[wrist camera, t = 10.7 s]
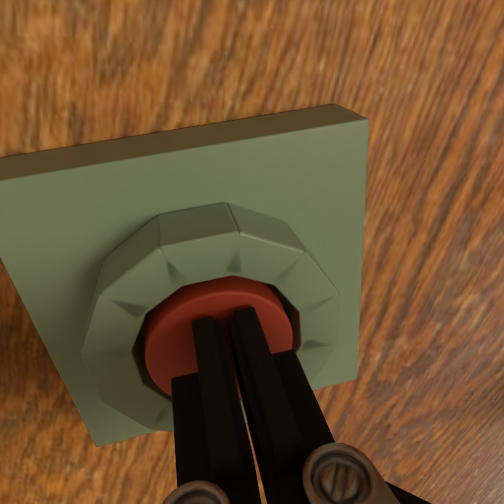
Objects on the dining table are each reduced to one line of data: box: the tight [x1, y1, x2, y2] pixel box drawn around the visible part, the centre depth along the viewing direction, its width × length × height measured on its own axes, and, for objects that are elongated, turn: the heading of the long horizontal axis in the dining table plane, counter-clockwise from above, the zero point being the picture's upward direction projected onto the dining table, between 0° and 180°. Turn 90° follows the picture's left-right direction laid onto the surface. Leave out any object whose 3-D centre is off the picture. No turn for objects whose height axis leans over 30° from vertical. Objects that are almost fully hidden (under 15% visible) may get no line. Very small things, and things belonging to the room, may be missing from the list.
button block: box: [0, 104, 369, 447], centre depth 13 cm, size 10×10×4 cm
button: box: [145, 275, 293, 398], centre depth 12 cm, size 4×4×2 cm
